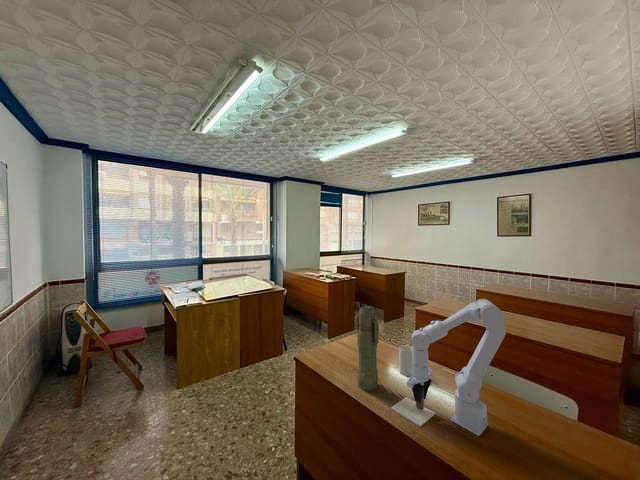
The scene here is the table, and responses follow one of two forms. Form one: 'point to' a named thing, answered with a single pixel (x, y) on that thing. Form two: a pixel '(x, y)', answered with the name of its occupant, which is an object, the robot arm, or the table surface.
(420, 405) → the cylinder
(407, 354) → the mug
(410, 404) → the notepad
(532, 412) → the table surface
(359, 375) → the thermos
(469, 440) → the table surface
